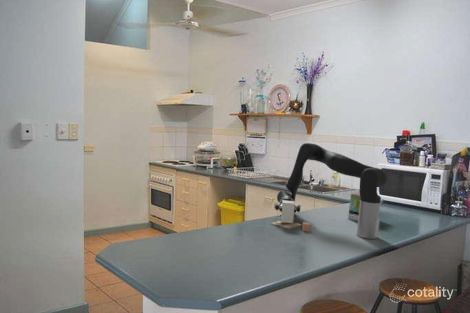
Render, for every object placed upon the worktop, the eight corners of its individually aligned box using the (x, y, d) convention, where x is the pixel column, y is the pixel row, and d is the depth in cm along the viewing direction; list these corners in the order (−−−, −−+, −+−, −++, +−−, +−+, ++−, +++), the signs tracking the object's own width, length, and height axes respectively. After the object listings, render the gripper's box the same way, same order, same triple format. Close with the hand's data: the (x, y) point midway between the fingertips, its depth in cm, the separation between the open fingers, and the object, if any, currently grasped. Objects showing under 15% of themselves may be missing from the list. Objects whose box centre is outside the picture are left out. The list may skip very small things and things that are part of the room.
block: (309, 229, 200) (309, 222, 200) (309, 231, 196) (310, 224, 196) (302, 229, 200) (302, 222, 200) (302, 231, 197) (303, 224, 196)
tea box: (364, 223, 224) (367, 196, 222) (347, 219, 230) (350, 193, 228) (373, 218, 236) (376, 194, 234) (357, 215, 242) (359, 191, 240)
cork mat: (301, 225, 207) (301, 224, 207) (290, 229, 198) (290, 227, 198) (282, 220, 214) (282, 219, 213) (271, 224, 205) (271, 223, 205)
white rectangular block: (292, 220, 208) (294, 201, 207) (292, 223, 202) (294, 203, 201) (280, 219, 209) (282, 200, 208) (280, 222, 203) (282, 202, 202)
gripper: (274, 195, 220) (274, 202, 203) (300, 198, 218) (303, 204, 202) (273, 209, 220) (273, 216, 204) (299, 211, 219) (301, 219, 202)
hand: (288, 210), depth 203 cm, fingers closed on white rectangular block, 6 cm apart
